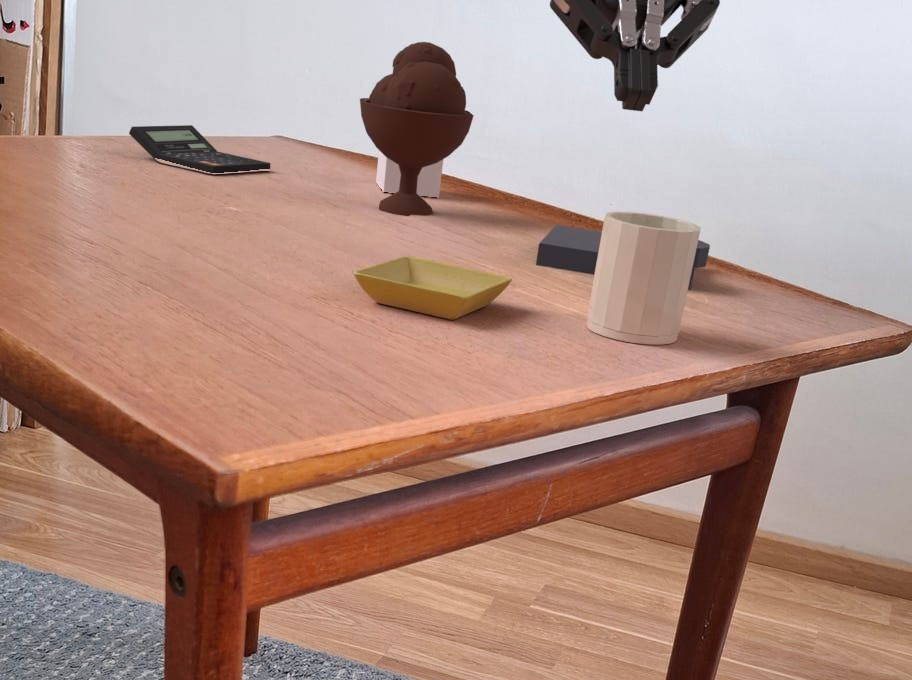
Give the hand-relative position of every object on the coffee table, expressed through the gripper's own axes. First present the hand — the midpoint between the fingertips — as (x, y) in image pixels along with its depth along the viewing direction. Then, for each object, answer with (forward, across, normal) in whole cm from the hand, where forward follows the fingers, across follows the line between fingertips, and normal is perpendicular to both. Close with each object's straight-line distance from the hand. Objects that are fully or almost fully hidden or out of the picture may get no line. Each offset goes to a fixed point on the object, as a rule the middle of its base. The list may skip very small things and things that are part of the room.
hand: (636, 102), depth 89 cm
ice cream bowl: (-11, -13, +32) cm, 37 cm away
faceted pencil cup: (+18, 0, +2) cm, 18 cm away
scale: (+1, +4, +19) cm, 20 cm away
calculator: (-22, -34, +44) cm, 60 cm away
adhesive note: (-20, -12, +42) cm, 48 cm away
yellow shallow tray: (+16, -14, +4) cm, 22 cm away
